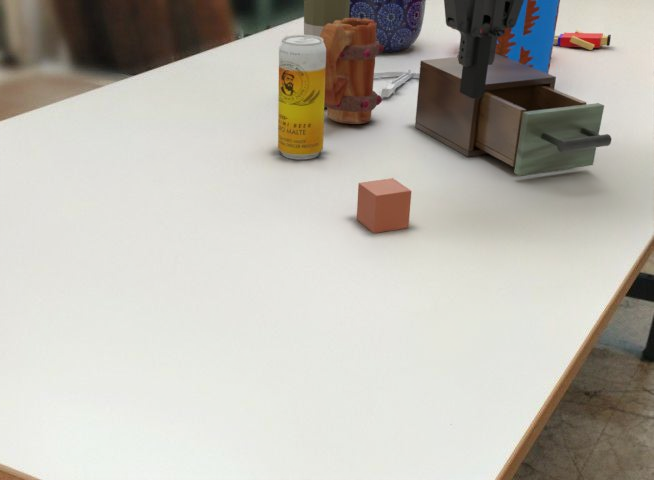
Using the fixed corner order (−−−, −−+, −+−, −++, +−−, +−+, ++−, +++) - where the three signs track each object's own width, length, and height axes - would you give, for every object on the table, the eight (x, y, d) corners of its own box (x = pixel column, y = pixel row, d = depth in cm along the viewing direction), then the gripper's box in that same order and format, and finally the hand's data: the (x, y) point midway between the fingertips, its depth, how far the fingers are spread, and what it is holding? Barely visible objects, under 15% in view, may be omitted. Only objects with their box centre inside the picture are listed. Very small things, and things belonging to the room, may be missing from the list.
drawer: (618, 177, 117) (630, 115, 113) (542, 189, 114) (552, 125, 110) (531, 135, 132) (540, 79, 128) (462, 144, 128) (468, 87, 124)
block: (408, 227, 105) (411, 190, 103) (373, 233, 104) (376, 195, 101) (390, 214, 109) (393, 177, 106) (356, 219, 107) (358, 182, 105)
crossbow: (374, 77, 166) (375, 65, 165) (444, 84, 162) (445, 72, 161) (347, 93, 152) (348, 80, 151) (423, 102, 148) (424, 88, 148)
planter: (433, 43, 186) (441, -38, 178) (403, 60, 173) (410, -26, 165) (357, 34, 192) (361, -44, 184) (322, 50, 180) (325, -33, 172)
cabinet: (545, 146, 131) (556, 76, 125) (467, 157, 126) (476, 85, 121) (487, 118, 142) (495, 53, 137) (414, 127, 138) (420, 60, 133)
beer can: (269, 155, 126) (269, 40, 118) (293, 143, 131) (295, 32, 123) (307, 163, 123) (310, 46, 116) (330, 152, 128) (335, 38, 120)
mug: (340, 109, 146) (344, 7, 138) (387, 117, 142) (395, 13, 134) (293, 133, 135) (295, 24, 127) (343, 142, 131) (348, 31, 123)
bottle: (298, 109, 145) (303, -107, 129) (303, 97, 151) (308, -111, 135) (343, 111, 144) (353, -106, 129) (347, 99, 150) (357, -110, 135)
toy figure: (545, 36, 184) (608, 37, 179) (550, 29, 189) (612, 30, 185) (543, 49, 185) (607, 51, 181) (549, 42, 190) (610, 43, 186)
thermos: (508, 74, 165) (529, -82, 152) (559, 87, 158) (585, -76, 145) (468, 84, 159) (486, -78, 146) (518, 98, 152) (542, -72, 139)
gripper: (536, -146, 98) (502, 82, 110) (427, -148, 94) (404, 90, 106) (580, -142, 92) (539, 99, 104) (466, -143, 88) (437, 108, 100)
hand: (471, 94), depth 105 cm, fingers closed
